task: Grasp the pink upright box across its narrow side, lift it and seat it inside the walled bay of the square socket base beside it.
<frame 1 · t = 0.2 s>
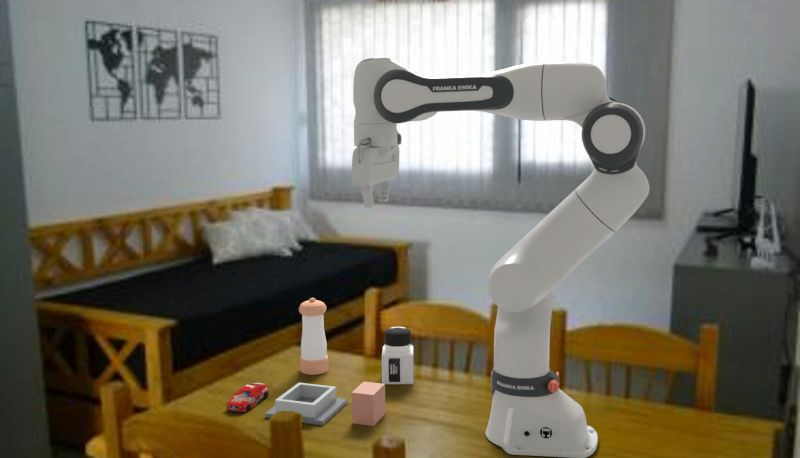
hand: (376, 204, 159), 47 cm above the table, fingers open, 8 cm apart
pink upright box: (369, 418, 166), on the table
square socket base: (306, 410, 171), on the table
race car: (248, 404, 176), on the table
container: (398, 380, 190), on the table
salt shaker: (314, 370, 198), on the table
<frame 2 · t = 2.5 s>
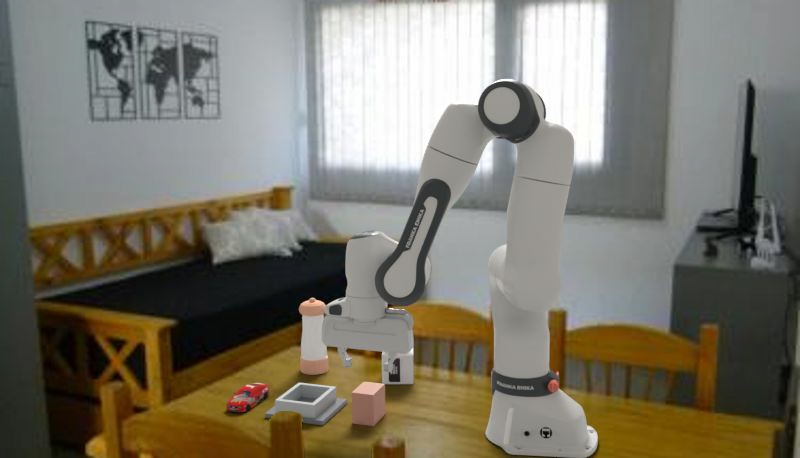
hand: (367, 368, 165), 11 cm above the table, fingers open, 8 cm apart
nothing on the table moved.
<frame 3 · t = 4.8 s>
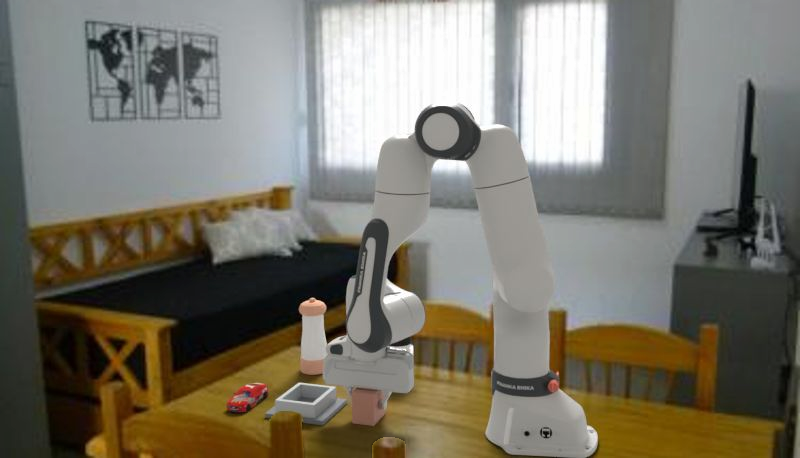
hand: (368, 406, 166), 3 cm above the table, fingers closed on pink upright box, 5 cm apart
pink upright box: (369, 418, 166), on the table, touching gripper
everything else where it was.
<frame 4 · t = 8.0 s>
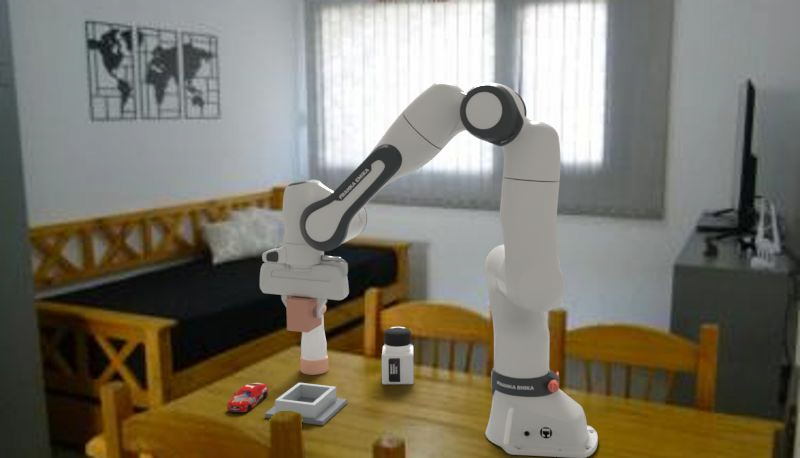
hand: (304, 315, 168), 22 cm above the table, fingers closed on pink upright box, 5 cm apart
pink upright box: (304, 327, 168), point 19 cm above the table, touching gripper
everything else where it was.
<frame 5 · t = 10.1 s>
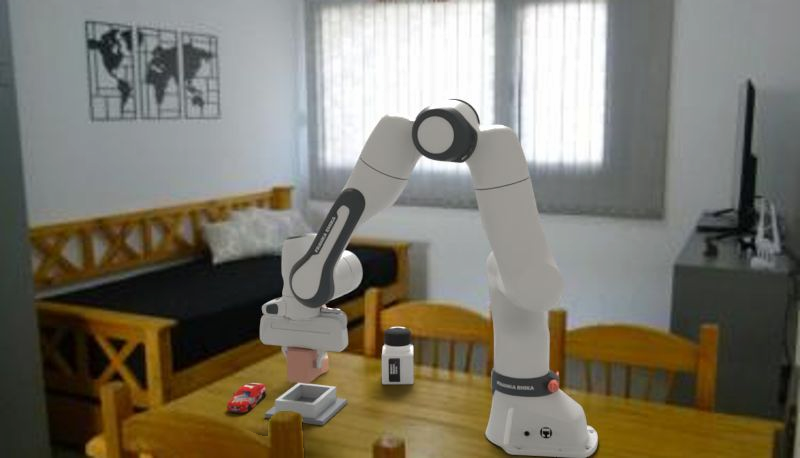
hand: (304, 366, 170), 10 cm above the table, fingers closed on pink upright box, 5 cm apart
pink upright box: (304, 377, 170), point 8 cm above the table, touching gripper
everything else where it was.
when the fingers open (5 cm above the table, at t = 11.6 s): pink upright box drops 1 cm, resting on square socket base.
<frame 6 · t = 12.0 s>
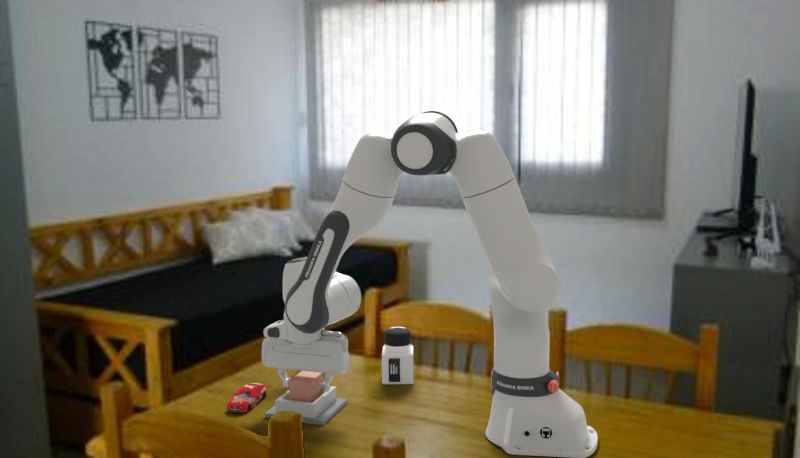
hand: (306, 388, 170), 5 cm above the table, fingers open, 8 cm apart
pink upright box: (306, 406, 171), point 1 cm above the table, touching square socket base
everything else where it was.
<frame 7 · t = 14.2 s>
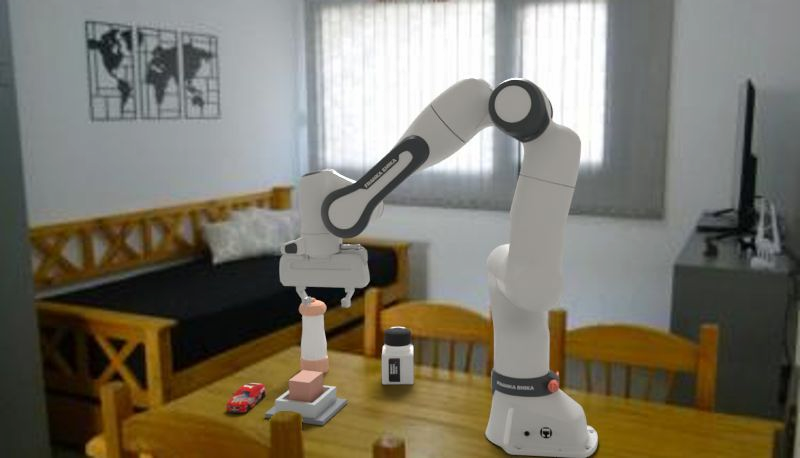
hand: (326, 306, 167), 24 cm above the table, fingers open, 8 cm apart
nothing on the table moved.
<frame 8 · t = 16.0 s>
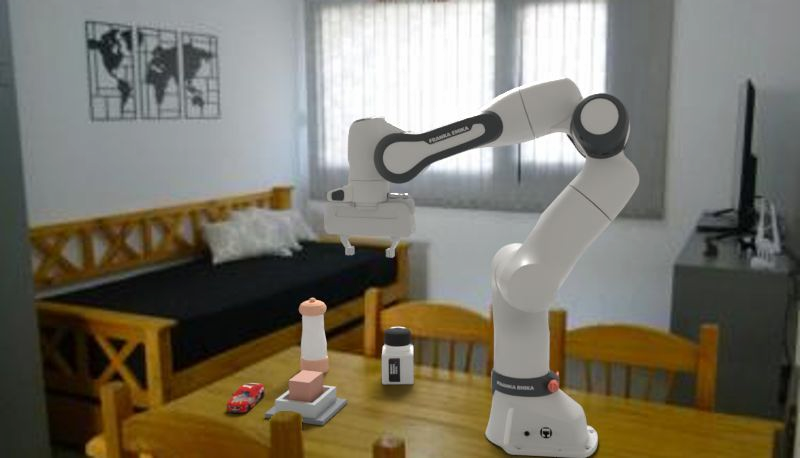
hand: (370, 255, 166), 35 cm above the table, fingers open, 8 cm apart
nothing on the table moved.
at the end: pink upright box 0.1 cm off-centre on the square socket base, point 1.0 cm above the square socket base's base; pink upright box tilted 0°; the gripper is holding nothing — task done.
